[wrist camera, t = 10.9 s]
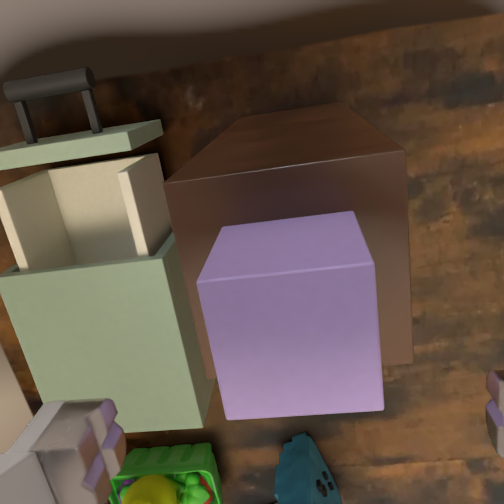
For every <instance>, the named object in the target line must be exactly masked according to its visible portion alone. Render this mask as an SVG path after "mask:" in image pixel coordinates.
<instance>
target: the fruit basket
mask: <svg viewBox="0 0 504 504" xmlns="http://www.w3.org/2000/svg"><path fill="white" fill-rule="evenodd" d="M110 482H111V485H112V488H113V489H112V492H111V494H110V496H109V500H110V503H111V504H223V501H222V490H221V479H220V475H219V473H218V469H217V464H216V461H215V457H214V454H213V453H212V449H211V444H210V443H197V444H194V445H193V446H192V445H189V444H184V445H175V446H172V447H169V446H160V447H153V448H150V449H148V448H136V449H133V450H132V451H131V452H130V453H129V454H128V455H127V456H126V457H125V461H124V464H123V466H122V469H121V471H120V472H119V473H118V474H117V475H116V476H115V477H114V478H112V479H111V480H110Z"/></svg>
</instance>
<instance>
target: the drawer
mask: <svg viewBox="0 0 504 504" xmlns="http://www.w3.org/2000/svg"><path fill="white" fill-rule="evenodd" d="M94 87H95V79H94V75H93V73H92V71H91V69H90V68H88V67H84V68H78V69H73V70H67V71H62V72H56V73H50V74H45V75H40V76H34V77H28V78H23V79H17V80H12V81H6V82H5V83H4V84H3V90H4V94H5V96H6V98H7V99H8V100H9V101H10V102H14V106H15V109H16V112H17V115H18V118H19V121H20V124H21V127H22V130H23V133H24V137H25V140H26V141H24V142H20V143H16V144H12V145H9V146H5V147H1V148H0V170H5V169H12V168H18V167H25V166H31V165H38V164H45V163H51V162H58V161H64V160H71V159H78V158H84V157H91V156H97V155H104V154H111V153H117V152H124V151H131V150H133V149H135V148H137V147H139V146H141V145H143V144H145V143H147V142H149V141H151V140H153V139H155V138H157V137H159V136H161V135H163V129H162V125H161V120H160V119H158V120H152V121H146V122H139V123H133V124H127V125H121V126H114V127H108V128H102V125H101V121H100V117H99V114H98V110H97V106H96V102H95V99H94V95H93V91H92V89H93V88H94ZM77 91H81V93H82V96H83V100H84V104H85V107H86V111H87V115H88V118H89V122H90V126H91V129H92V130H89V131H83V132H77V133H71V134H64V135H58V136H52V137H46V138H39V139H37V136H36V133H35V130H34V126H33V123H32V120H31V117H30V114H29V111H28V107H27V104H26V101H25V100H31V99H37V98H43V97H48V96H54V95H60V94H66V93H71V92H77ZM163 183H164V178H163V173H162V169H161V165H160V160H159V156H158V153H153V154H146V155H139V156H133V157H126V158H119V159H113V160H106V161H99V162H92V163H86V164H79V165H72V166H66V167H59V168H52V169H46V170H42V171H40V172H37V173H35V174H32V175H30V176H27V177H25V178H22V179H20V180H17V181H15V182H12V183H10V184H7V185H5V186H2V187H0V217H1V220H2V223H3V225H4V228H5V231H6V234H7V236H8V239H9V242H10V245H11V247H12V250H13V253H14V256H15V258H16V261H17V264H18V267H19V269H20V271H29V270H37V269H46V268H54V267H63V266H71V265H80V264H88V263H97V262H106V261H114V260H123V259H131V258H140V257H148V256H155V254H156V253H157V252H158V250H159V249H160V248H161V246H162V245H163V244H164V243H165V241H166V240H167V239H168V237H169V236H170V235H171V233H172V232H173V229H172V224H171V220H170V215H169V211H168V207H167V202H166V198H165V194H164V189H163V185H162V184H163Z"/></svg>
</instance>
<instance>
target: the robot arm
mask: <svg viewBox="0 0 504 504" xmlns="http://www.w3.org/2000/svg"><path fill="white" fill-rule="evenodd" d="M486 388H487V390H488V392H489V393H490V395H491V397H492V399H491V400H490V401H489V402H488V403H487V404H486V423H487V428H488V433H489V436H490V439H491V442H492V444H493V446H494V448H495V450H496V452H497V454H499V455H500V456H502V457H503V458H504V370H493V371H488V374H487V377H486ZM117 414H118V411H117V409H116V406H115V403H114V401H113V400H111V399H109V398H100V399H80V400H69V401H67V400H63V401H50V402H47V403H45V404H43V406H42V407H41V408H40V409H39V411H38V412H37V413H36V415H35V416H34V417H33V419H32V420H31V421H30V422H29V424H28V425H27V426H26V428H25V429H24V430H23V432H22V433H21V434H20V435H19V437H18V438H17V439H16V441H15V442H14V443H13V445H12V446H11V447H10V448H9V450H8V451H7V453H1V454H0V504H106V503H107V501H108V498H109V496H110V494H111V492H112V489H113V488H112V485H111V482H110V480H111V479H112V478H114V477H115V476H116V475H117V474H118V473H119V472H120V471H121V469H122V466H123V464H124V461H125V455H126V448H127V447H126V437H125V434H124V430H123V428H122V427H121V426H120V425H118V424H117V423H116V422H115V421H114V420H115V418H116V416H117Z"/></svg>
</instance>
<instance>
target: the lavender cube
mask: <svg viewBox="0 0 504 504" xmlns="http://www.w3.org/2000/svg"><path fill="white" fill-rule="evenodd" d="M196 284H197V288H198V293H199V297H200V302H201V307H202V311H203V316H204V320H205V325H206V329H207V334H208V338H209V343H210V348H211V352H212V357H213V361H214V366H215V370H216V375H217V379H218V384H219V389H220V393H221V398H222V402H223V407H224V411H225V416H226V419H227V420H241V419H257V418H272V417H288V416H304V415H319V414H335V413H351V412H367V411H382V410H384V394H383V379H382V364H381V350H380V335H379V321H378V306H377V292H376V277H375V264H374V261H373V259H372V256H371V254H370V251H369V249H368V246H367V244H366V241H365V239H364V236H363V234H362V231H361V229H360V226H359V224H358V221H357V219H356V216H355V214H354V212H353V211H346V212H338V213H330V214H322V215H314V216H306V217H297V218H289V219H281V220H273V221H265V222H257V223H249V224H241V225H233V226H225V227H222V229H221V231H220V233H219V235H218V237H217V239H216V241H215V243H214V246H213V248H212V250H211V252H210V254H209V256H208V258H207V260H206V263H205V265H204V267H203V269H202V271H201V273H200V275H199V277H198V280H197V283H196Z"/></svg>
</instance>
